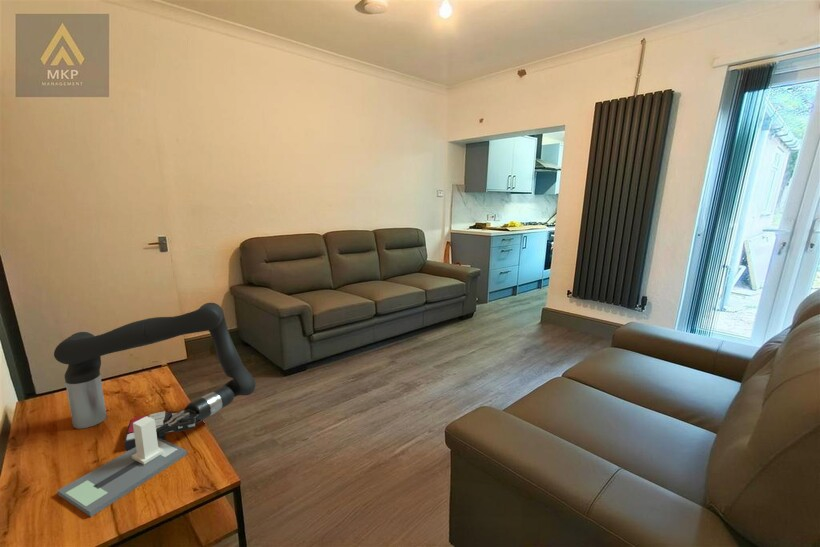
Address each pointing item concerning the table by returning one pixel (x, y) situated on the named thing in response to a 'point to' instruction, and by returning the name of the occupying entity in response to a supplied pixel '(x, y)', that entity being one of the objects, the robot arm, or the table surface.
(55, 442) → the table surface
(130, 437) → the calculator
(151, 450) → the switch slider
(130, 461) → the switch panel
